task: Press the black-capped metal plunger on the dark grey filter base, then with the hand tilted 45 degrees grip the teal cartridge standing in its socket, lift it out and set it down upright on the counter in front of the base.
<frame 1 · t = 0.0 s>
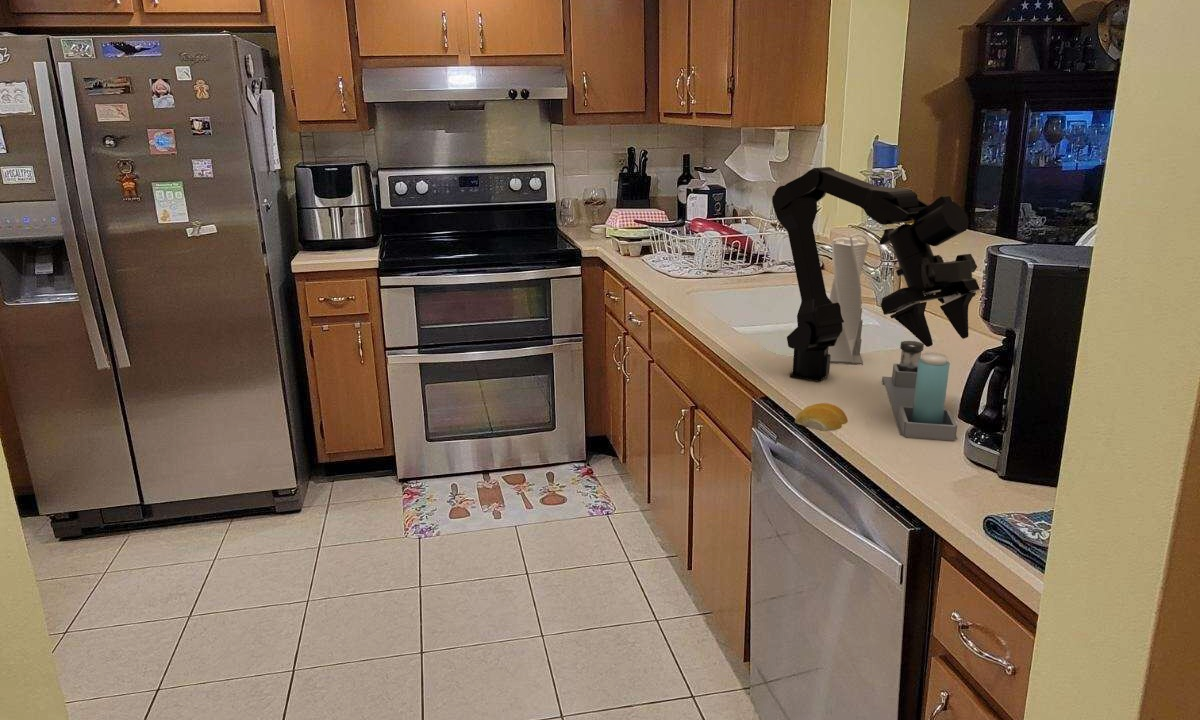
hand: (948, 342, 141), 15 cm above the worktop, tool tilted 35°, fingers open, 9 cm apart
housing: (915, 409, 152), on the worktop
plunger: (910, 358, 162), point 6 cm above the worktop, slide at 0.0 cm
cartridge: (925, 429, 140), point 1 cm above the worktop, touching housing
skyscraper: (842, 360, 181), on the worktop
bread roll: (820, 428, 145), on the worktop
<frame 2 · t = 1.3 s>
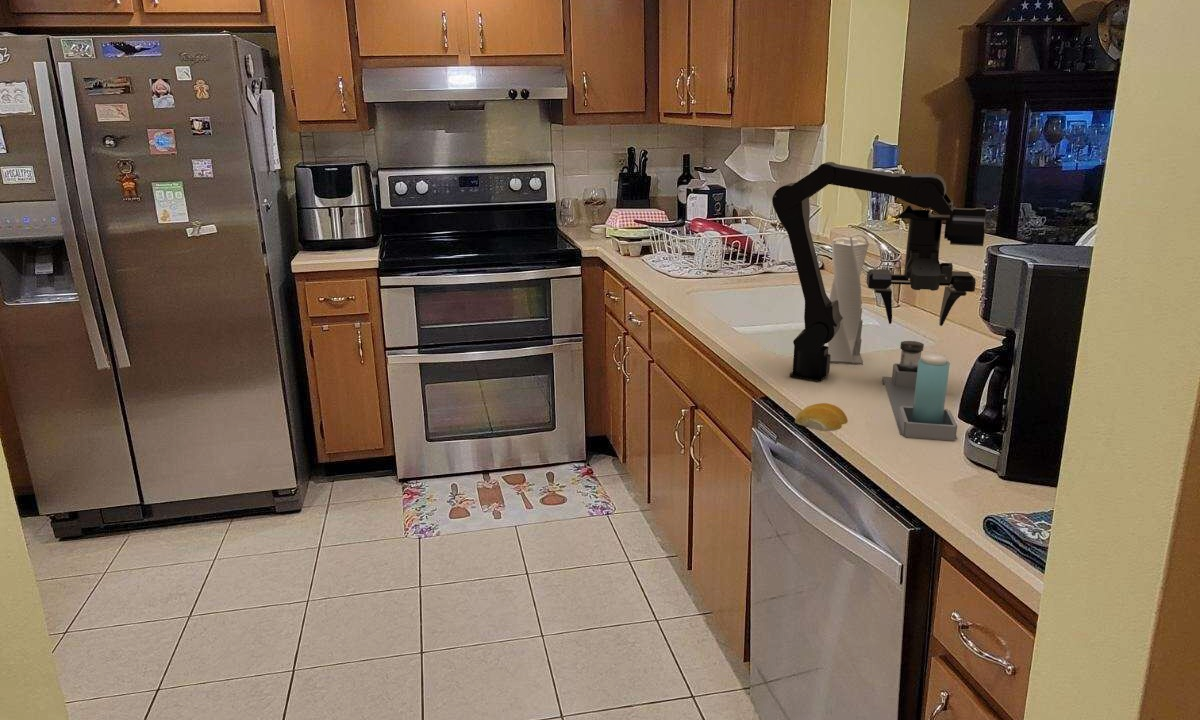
hand: (915, 324, 159), 13 cm above the worktop, tool pointing down, fingers open, 9 cm apart
nothing on the worktop moved.
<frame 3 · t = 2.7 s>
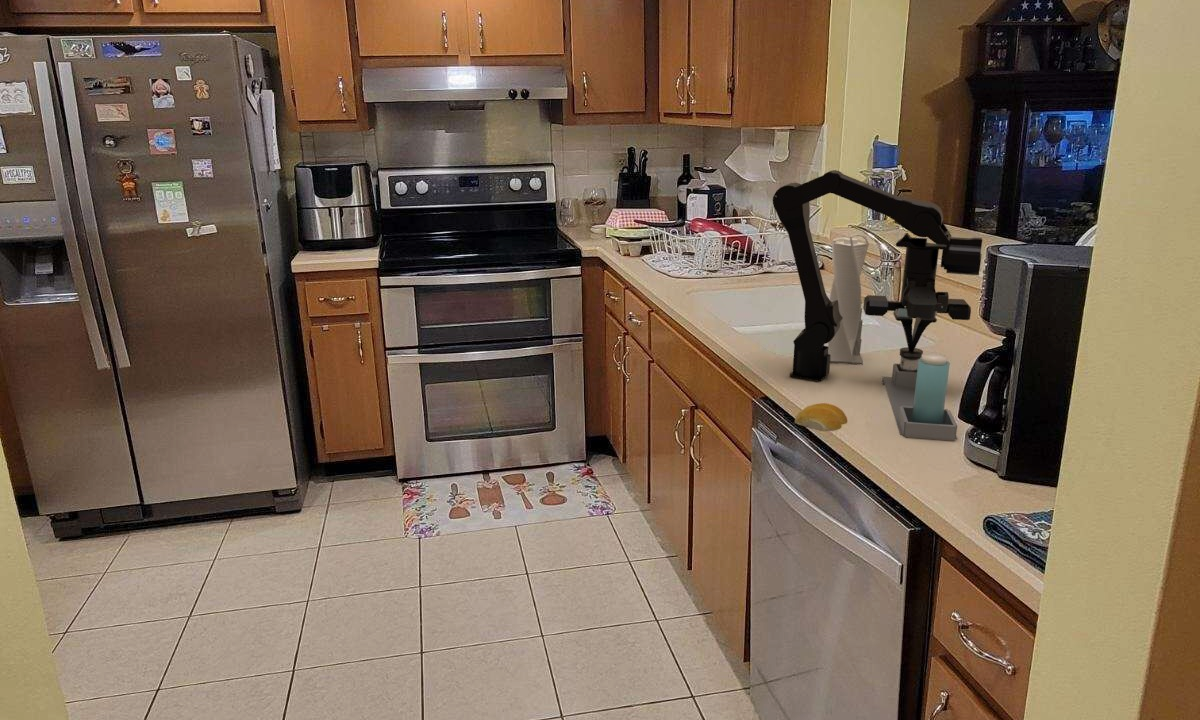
hand: (910, 350, 161), 8 cm above the worktop, tool pointing down, fingers closed, pressing on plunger
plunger: (909, 365, 162), point 5 cm above the worktop, slide at -1.3 cm, touching gripper
everything else where it was.
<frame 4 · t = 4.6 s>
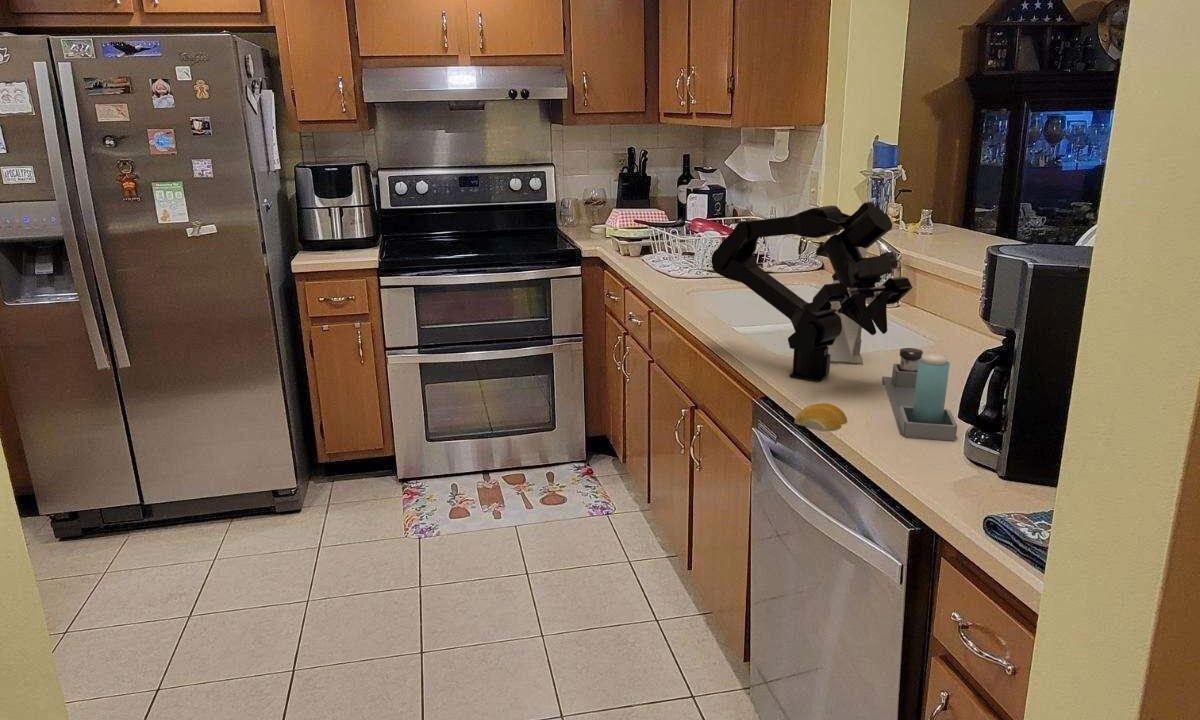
hand: (879, 333, 152), 13 cm above the worktop, tool tilted 45°, fingers closed
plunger: (909, 365, 162), point 5 cm above the worktop, slide at -1.4 cm
everything else where it was.
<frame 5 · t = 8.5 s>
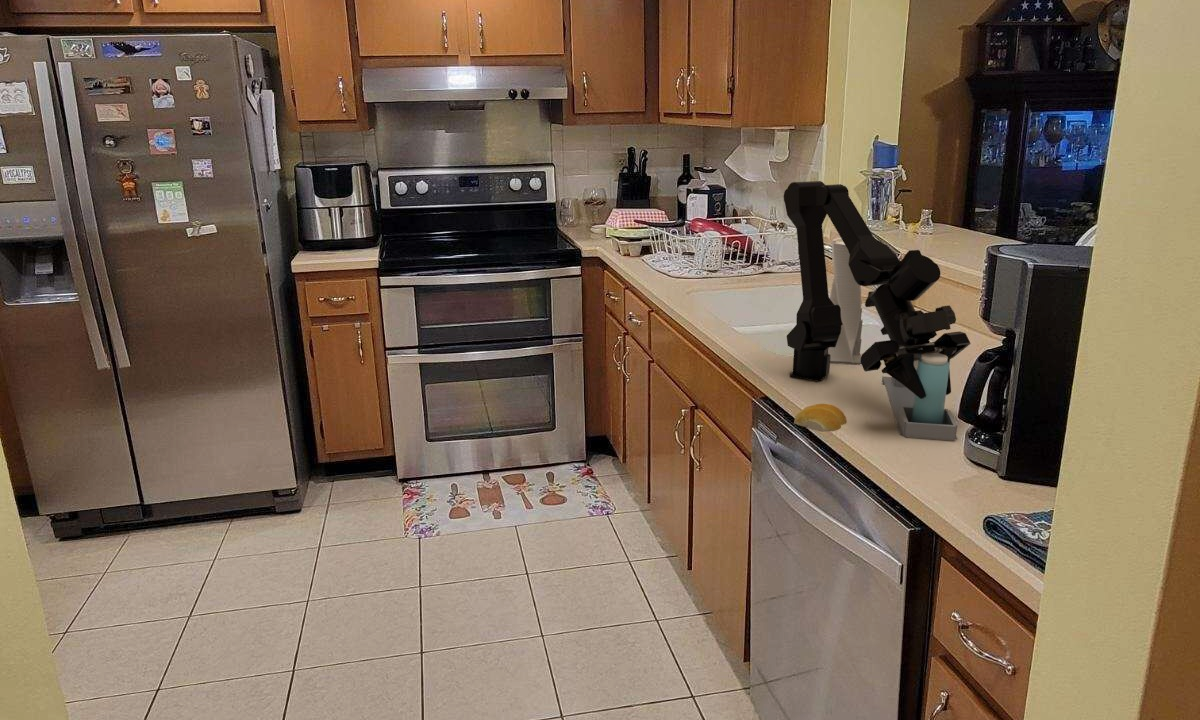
hand: (936, 395, 137), 8 cm above the worktop, tool tilted 45°, fingers closed on cartridge, 5 cm apart
cartridge: (925, 429, 140), point 1 cm above the worktop, touching gripper, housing
everything else where it was.
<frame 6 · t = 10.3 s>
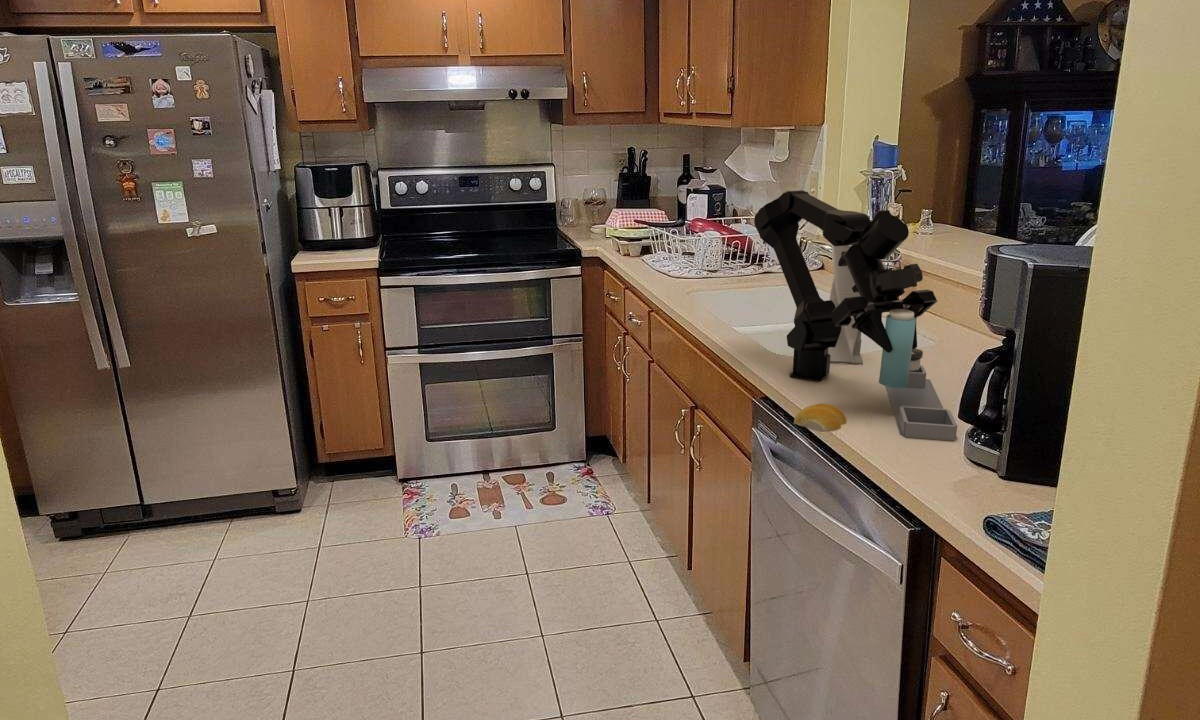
hand: (902, 350, 144), 13 cm above the worktop, tool tilted 45°, fingers closed on cartridge, 5 cm apart
cartridge: (893, 383, 147), point 6 cm above the worktop, touching gripper
everything else where it was.
when the fingers open (8 cm above the worktop, at t = 11.9 s): cartridge stays where it is, resting on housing.
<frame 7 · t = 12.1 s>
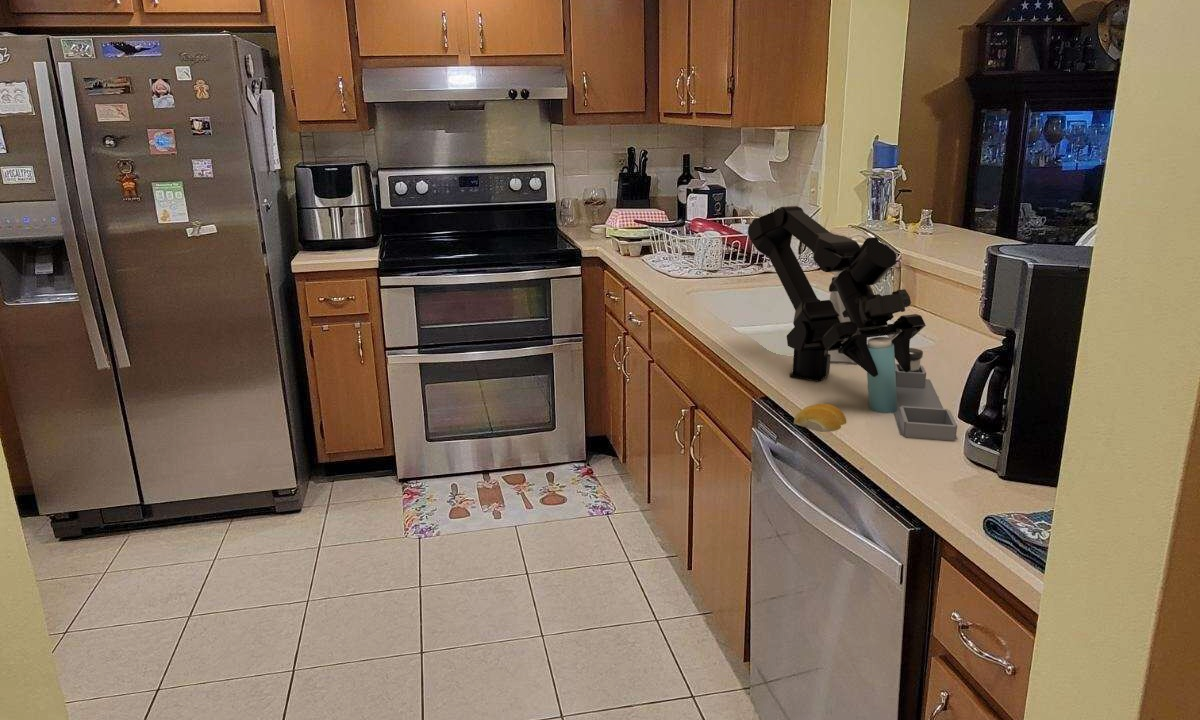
hand: (892, 373, 147), 8 cm above the worktop, tool tilted 45°, fingers open, 7 cm apart
cartridge: (883, 409, 150), point 1 cm above the worktop, tilted 8°, touching gripper, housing
everything else where it was.
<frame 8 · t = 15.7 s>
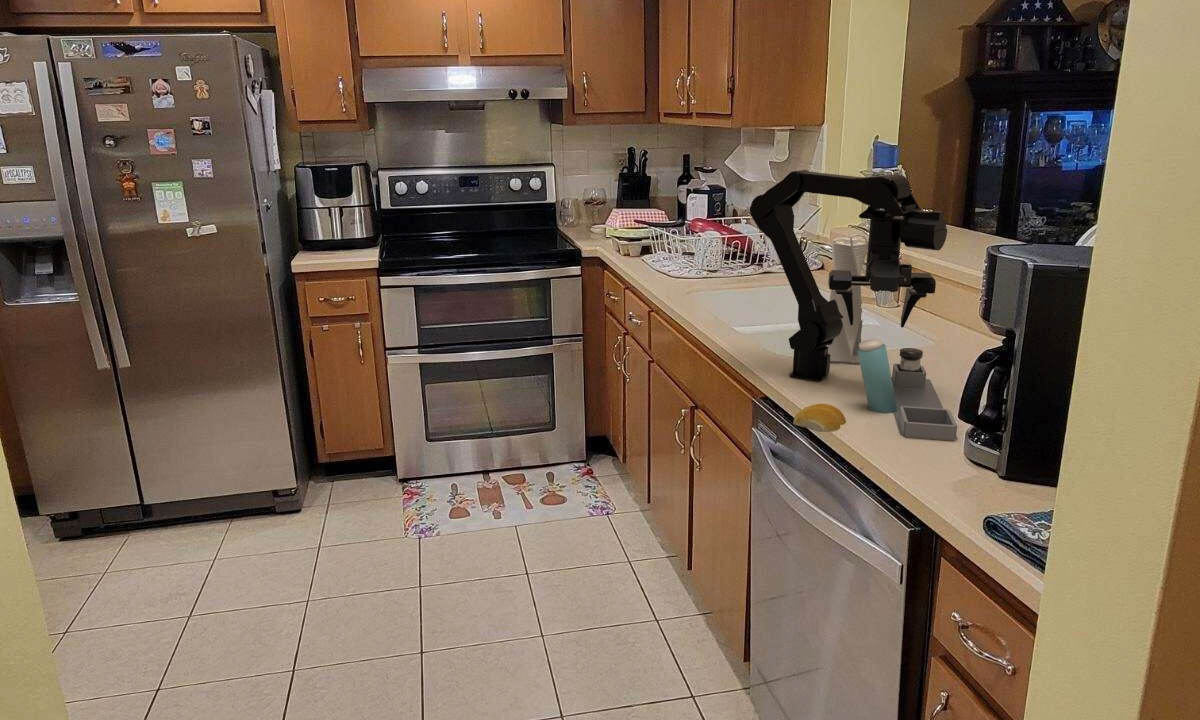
hand: (876, 325, 158), 13 cm above the worktop, tool pointing down, fingers open, 9 cm apart
cartridge: (883, 410, 150), point 1 cm above the worktop, tilted 15°, touching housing
everything else where it was.
at the end: cartridge inside the target area (0.2 cm from its centre), point 0.6 cm above the worktop; cartridge tilted 15°; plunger slide at -1.4 cm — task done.
